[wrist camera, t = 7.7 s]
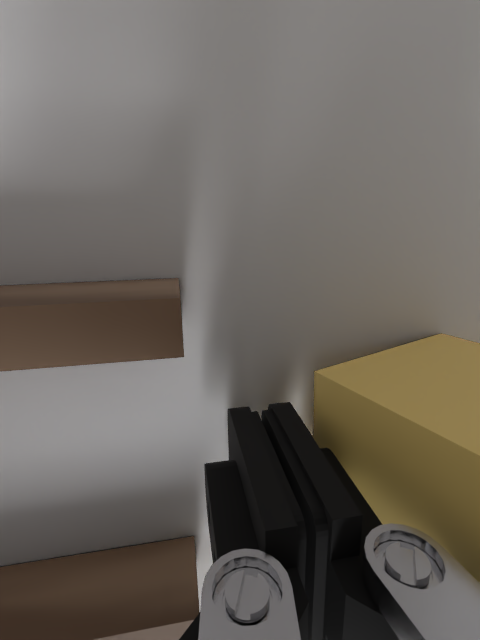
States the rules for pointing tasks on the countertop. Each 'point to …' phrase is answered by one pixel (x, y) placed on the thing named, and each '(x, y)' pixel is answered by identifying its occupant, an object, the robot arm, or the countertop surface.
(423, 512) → the ochre block
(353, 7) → the countertop surface
